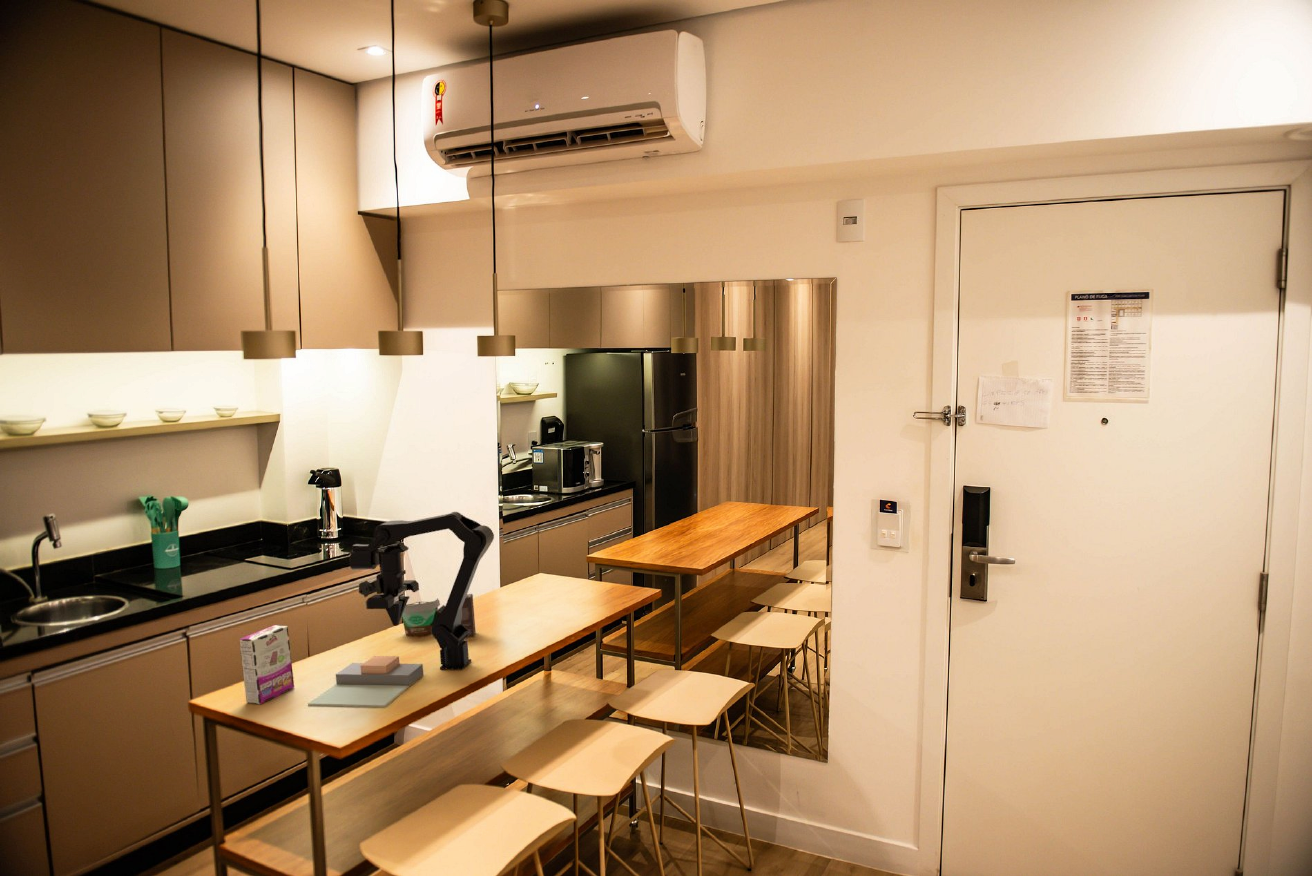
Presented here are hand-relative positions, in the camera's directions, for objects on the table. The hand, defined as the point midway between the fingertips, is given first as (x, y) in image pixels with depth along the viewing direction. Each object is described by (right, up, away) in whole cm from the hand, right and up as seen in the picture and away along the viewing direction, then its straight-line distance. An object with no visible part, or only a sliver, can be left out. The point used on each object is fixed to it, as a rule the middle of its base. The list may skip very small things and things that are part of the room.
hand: (395, 625), depth 224 cm
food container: (-1, -9, +28) cm, 29 cm away
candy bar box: (-27, -14, -15) cm, 34 cm away
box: (+13, -9, +25) cm, 30 cm away
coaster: (-1, -9, -9) cm, 13 cm away
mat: (-3, -13, -19) cm, 23 cm away
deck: (-1, -12, -9) cm, 15 cm away
